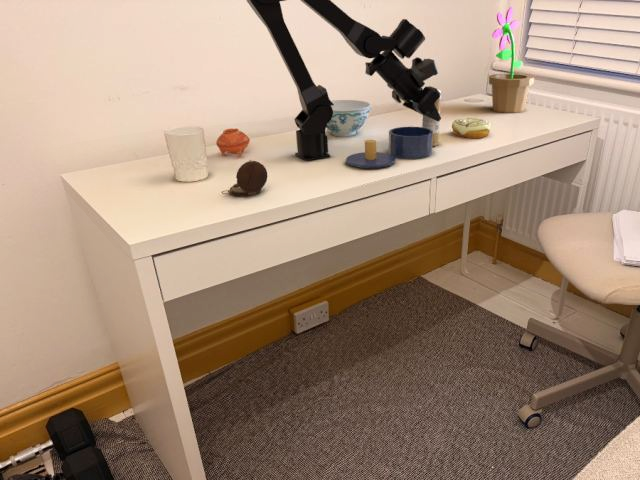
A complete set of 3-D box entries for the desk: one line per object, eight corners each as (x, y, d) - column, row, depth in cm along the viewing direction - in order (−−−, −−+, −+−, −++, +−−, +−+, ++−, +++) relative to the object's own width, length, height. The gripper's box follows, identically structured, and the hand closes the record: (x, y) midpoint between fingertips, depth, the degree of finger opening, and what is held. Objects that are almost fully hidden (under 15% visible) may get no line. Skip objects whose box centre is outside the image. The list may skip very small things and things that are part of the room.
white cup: (172, 184, 115) (162, 136, 111) (173, 173, 122) (164, 127, 117) (211, 180, 117) (203, 133, 112) (210, 170, 124) (203, 125, 119)
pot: (259, 153, 135) (250, 127, 131) (231, 166, 132) (221, 140, 127) (244, 146, 140) (235, 120, 136) (217, 158, 137) (207, 133, 133)
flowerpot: (505, 103, 191) (514, 6, 177) (539, 109, 181) (552, 7, 167) (477, 109, 183) (484, 7, 169) (511, 116, 173) (522, 8, 159)
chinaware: (331, 142, 145) (330, 112, 141) (308, 131, 156) (306, 103, 153) (381, 135, 152) (380, 106, 148) (355, 125, 163) (354, 98, 159)
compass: (253, 185, 114) (248, 150, 111) (270, 195, 109) (266, 158, 105) (216, 193, 110) (210, 156, 107) (232, 204, 105) (227, 166, 101)
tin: (405, 161, 129) (405, 138, 127) (381, 152, 137) (380, 130, 134) (440, 154, 134) (441, 132, 132) (415, 145, 142) (415, 124, 139)
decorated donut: (460, 140, 146) (461, 126, 145) (445, 131, 155) (446, 117, 154) (496, 137, 149) (498, 123, 147) (479, 128, 158) (480, 115, 156)
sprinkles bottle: (430, 141, 145) (432, 87, 139) (442, 145, 142) (445, 90, 136) (417, 144, 143) (418, 89, 136) (429, 148, 140) (431, 92, 133)
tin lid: (362, 173, 121) (362, 150, 119) (337, 161, 130) (336, 139, 127) (405, 164, 127) (405, 142, 124) (378, 154, 135) (377, 132, 133)
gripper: (434, 50, 123) (475, 99, 131) (403, 43, 138) (442, 87, 147) (400, 90, 124) (443, 135, 133) (374, 79, 139) (413, 120, 148)
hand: (436, 118), depth 140 cm, fingers closed on sprinkles bottle, 4 cm apart
